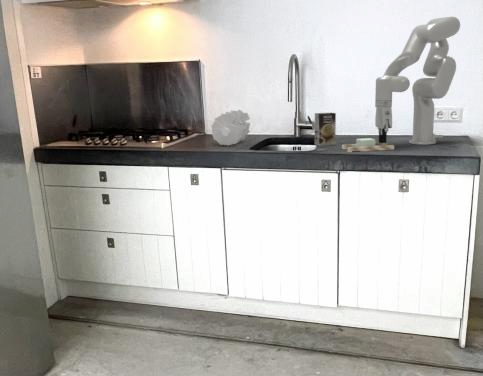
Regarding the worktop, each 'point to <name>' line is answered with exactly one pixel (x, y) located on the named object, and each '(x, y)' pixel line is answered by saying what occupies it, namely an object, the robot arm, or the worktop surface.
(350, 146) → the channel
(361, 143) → the sage block
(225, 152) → the worktop surface
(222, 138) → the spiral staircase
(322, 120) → the coffee box
